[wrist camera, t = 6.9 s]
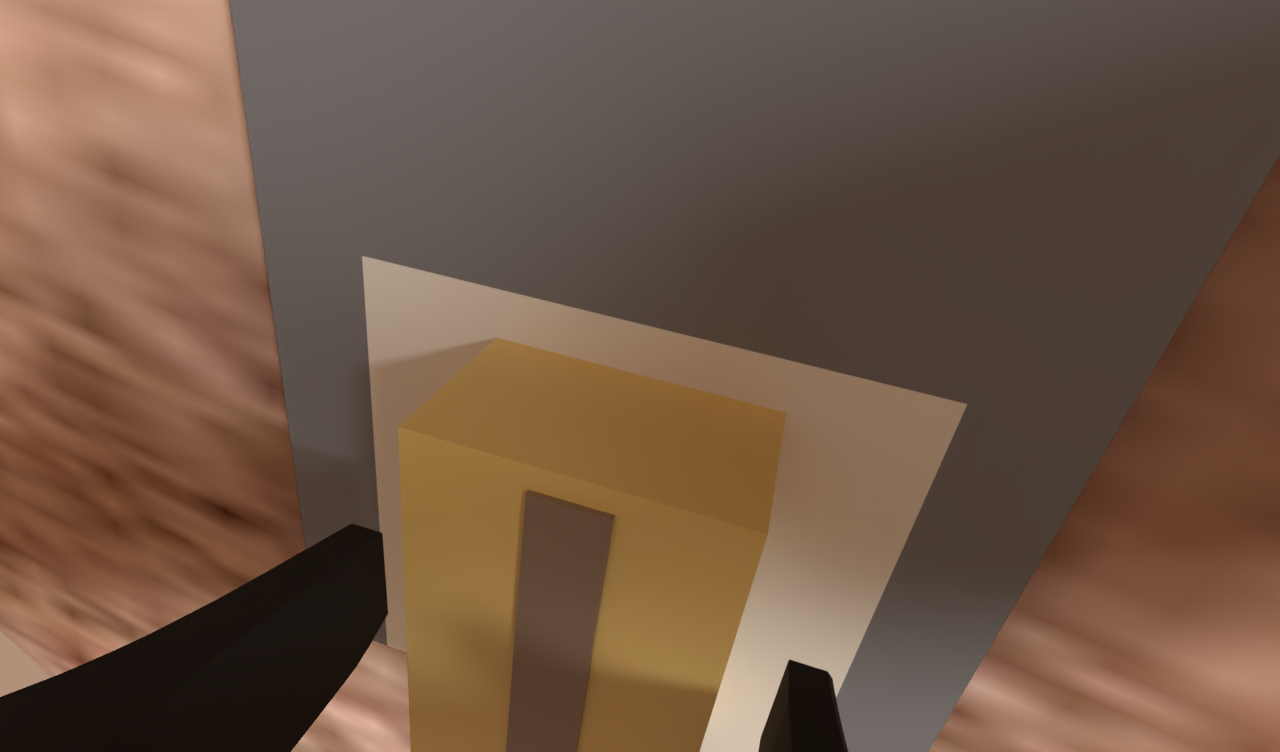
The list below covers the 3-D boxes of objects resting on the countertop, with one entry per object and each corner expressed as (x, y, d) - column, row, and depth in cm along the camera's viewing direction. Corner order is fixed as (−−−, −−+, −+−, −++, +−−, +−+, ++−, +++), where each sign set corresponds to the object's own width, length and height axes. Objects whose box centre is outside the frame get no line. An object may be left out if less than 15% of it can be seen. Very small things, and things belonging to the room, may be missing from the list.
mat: (2190, -1506, 4) (2408, -1755, 3) (887, 791, 15) (888, 819, 15) (116, -1189, 6) (45, -1307, 6) (331, 602, 17) (315, 620, 17)
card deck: (695, 719, 15) (661, 873, 12) (483, 647, 16) (408, 777, 13) (785, 413, 11) (767, 540, 8) (497, 337, 12) (393, 431, 9)
